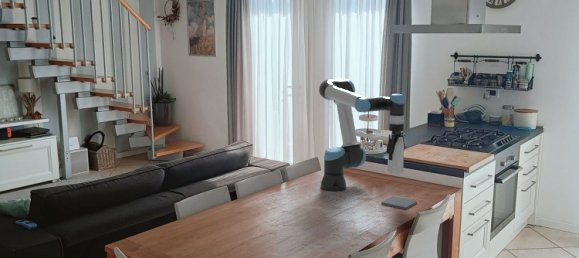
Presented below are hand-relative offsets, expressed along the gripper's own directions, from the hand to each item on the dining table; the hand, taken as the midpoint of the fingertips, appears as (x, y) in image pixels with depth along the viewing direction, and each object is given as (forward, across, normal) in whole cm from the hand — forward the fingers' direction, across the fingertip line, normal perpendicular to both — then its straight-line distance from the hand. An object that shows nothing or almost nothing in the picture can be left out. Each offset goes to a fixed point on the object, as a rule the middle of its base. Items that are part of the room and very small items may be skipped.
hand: (395, 164), depth 282 cm
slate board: (+20, -4, -4) cm, 21 cm away
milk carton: (+4, 0, 0) cm, 4 cm away
